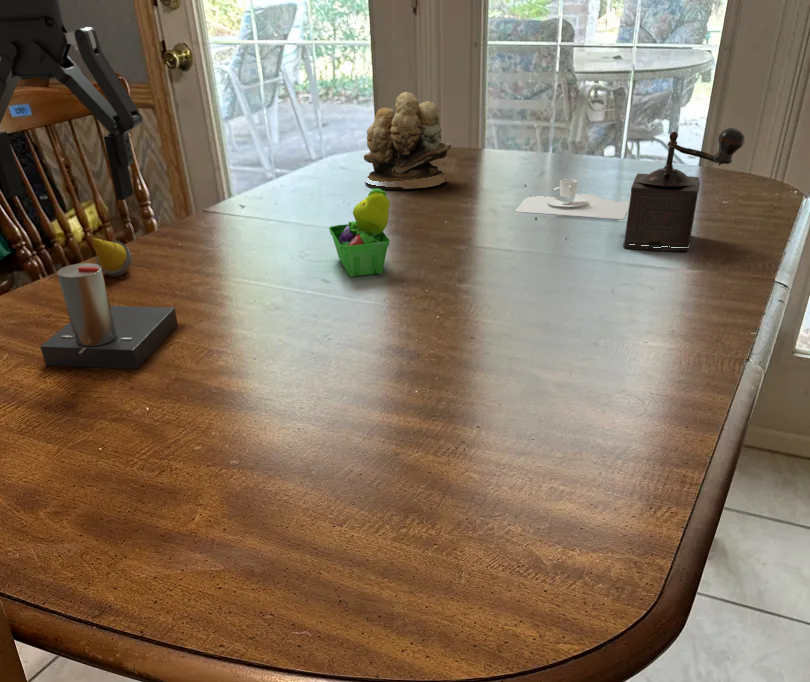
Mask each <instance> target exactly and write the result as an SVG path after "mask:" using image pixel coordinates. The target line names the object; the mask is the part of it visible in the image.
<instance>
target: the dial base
mask: <svg viewBox="0 0 810 682" xmlns="http://www.w3.org/2000/svg"><path fill="white" fill-rule="evenodd" d="M110 306H111V310H112V314H113V318H114V323H115V327H116V331H117V338H116V339H115V340H113V341H111V342H109V343H106V344H103V345H98V346H83V345H79V344H78V343H76V340H75V337H74V333H73V329H72V326H71V322H70V321H69V322H68V323H67V324H66V325H64V326H63V327H62V328H61V329H60V330H58V331H57V332H56V333H55V334H54V335H53V336H51V337H50V338H49V339H48V340H47V341H45V342H44V343H43V344H42V345H41V346H40V350H41V354H42V357H43V361H44V364H45V366H51V367H52V366H53V367H75V368H76V367H78V368H101V369H102V368H103V369H126V370H138V369H139V368H140V367H141V366H142V365H143V364H144V363H145V362H146V361H147V359H149V357H150V356H151V355H152V354H153V353H154V352H155V351H156V350H157V349H158V347H159V346H161V344H162V343H163V342H164V341H165V340H166V339H167V338H168V337H169V335H171V333H173V332H174V331H175V329H176V328H177V327H178V324H179V323H178V317H177V314H176V308H175V307H172V306H171V307H169V306H168V307H167V306H135V305H134V306H133V305H110Z"/></svg>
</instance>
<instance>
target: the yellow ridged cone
mask: <svg viewBox="0 0 810 682" xmlns="http://www.w3.org/2000/svg"><path fill="white" fill-rule="evenodd" d="M91 241H92V244H93V248H94V251H95V253H96V264H97V265H100V266H101V269H102V273H103V274H104V275H107V276H110V277H118V276H119V277H120V276H121V275H123V274H124V273H126V272H127V271H128V269H129V268H130V266H131V264H132V261H133V255H132V252H131V250H130V249H129V247H127V246H126V245H125V244H124V243H123V242H122V241H118V240H110V241H109V240H104V239H100V238H96V237H93V238H92V237H91Z"/></svg>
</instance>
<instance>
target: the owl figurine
mask: <svg viewBox="0 0 810 682" xmlns="http://www.w3.org/2000/svg"><path fill="white" fill-rule="evenodd" d="M394 108H395V111H394V110H393V109H392V108H390V107H381V108H379V109H378V110H377V111H376V113H375V117H374V121H373V122H372V123H371V125H370V126H369V127H368V128H367V130H366V140H367V141H366V146H367V149H369V152H368V153H365V154H364V155H363V160H364V161H365V162H366V163H369V164H372V167H373V170H372V171H371V172H369V174H368V175H369V176H368V175H367V177H368V178H369V179H370V180H372V181H379V182H381V181H382V182H384V181H387V182H388V181H389V182H391V181H404V180H413V179H421V178H428V177H432V176H436V175H439V174H441V173H443V171H442V170H440V169H439V168H438V167H439V166H437V165H434V164H432V163H431V162H433V161H437V160H441V159H444V158H446V157H447V155H448V151H449V150H450V149H451V147H452V143H450V142H445V143H444V142H442V131H443V130H442V128H441V125H440V116H439V108H438V105H437V104H436V103H435V102H432V101H427V100H426V101H423V102H422V103H419V101H418V99H417V97H416V96H415V95H414V94H413V93H412V92H408V91H404V92H401V93H400V94H399V95H398V96H397V97H396V100H395V107H394ZM439 170H440V171H439ZM364 184H365V186H367V187H368V188H370V189H381V190H390V191H407V190H406V189H404V188H402V187H385V186H376V185H371V184H368V183H366V182H365V181H364Z"/></svg>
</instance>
